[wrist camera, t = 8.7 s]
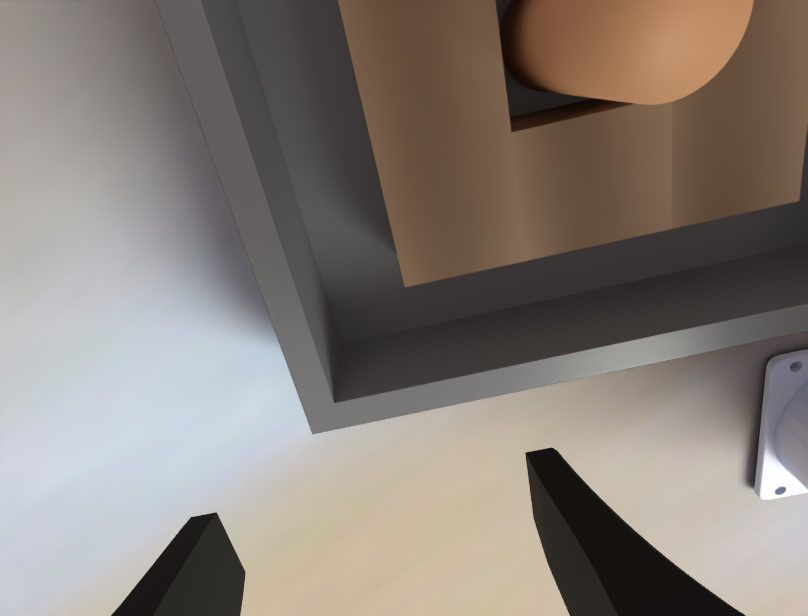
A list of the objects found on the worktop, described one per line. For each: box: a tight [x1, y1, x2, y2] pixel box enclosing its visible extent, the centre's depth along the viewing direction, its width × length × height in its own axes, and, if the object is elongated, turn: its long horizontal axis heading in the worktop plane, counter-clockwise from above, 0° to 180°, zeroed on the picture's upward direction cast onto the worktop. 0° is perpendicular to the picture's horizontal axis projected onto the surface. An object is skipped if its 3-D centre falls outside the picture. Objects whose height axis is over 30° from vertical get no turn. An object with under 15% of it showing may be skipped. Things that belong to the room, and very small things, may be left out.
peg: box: [500, 0, 754, 105], centre depth 13 cm, size 3×3×7 cm
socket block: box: [338, 0, 808, 287], centre depth 15 cm, size 12×12×3 cm
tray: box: [155, 0, 808, 434], centre depth 14 cm, size 20×20×4 cm
